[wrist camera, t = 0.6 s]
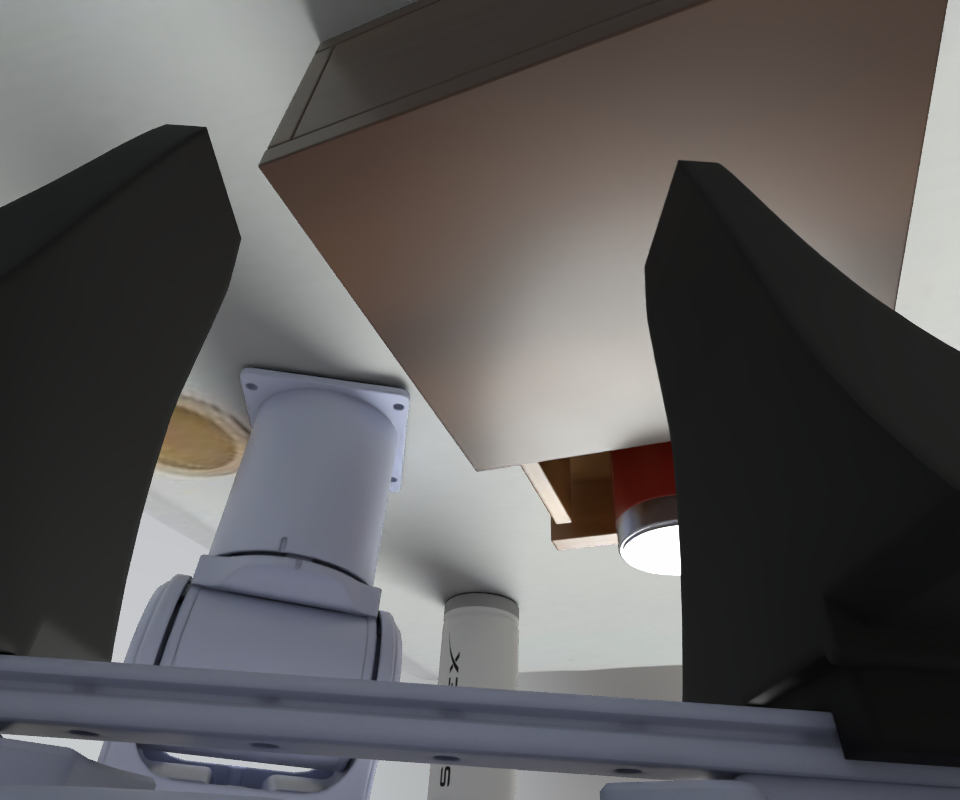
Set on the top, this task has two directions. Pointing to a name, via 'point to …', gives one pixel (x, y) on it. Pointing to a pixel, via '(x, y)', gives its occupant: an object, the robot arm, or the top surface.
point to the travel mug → (477, 683)
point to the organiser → (587, 183)
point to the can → (646, 507)
